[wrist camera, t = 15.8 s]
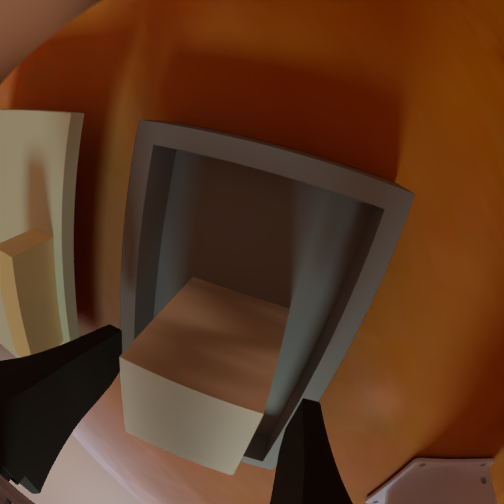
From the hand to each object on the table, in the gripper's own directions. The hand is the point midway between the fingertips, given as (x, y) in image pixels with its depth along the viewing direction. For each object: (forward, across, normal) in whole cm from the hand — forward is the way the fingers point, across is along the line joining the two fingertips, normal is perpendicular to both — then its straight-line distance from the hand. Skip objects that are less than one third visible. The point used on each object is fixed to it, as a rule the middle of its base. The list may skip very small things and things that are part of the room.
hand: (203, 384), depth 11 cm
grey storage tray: (+4, 0, 0) cm, 4 cm away
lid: (+2, +12, 0) cm, 13 cm away
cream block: (+4, 0, 0) cm, 4 cm away
